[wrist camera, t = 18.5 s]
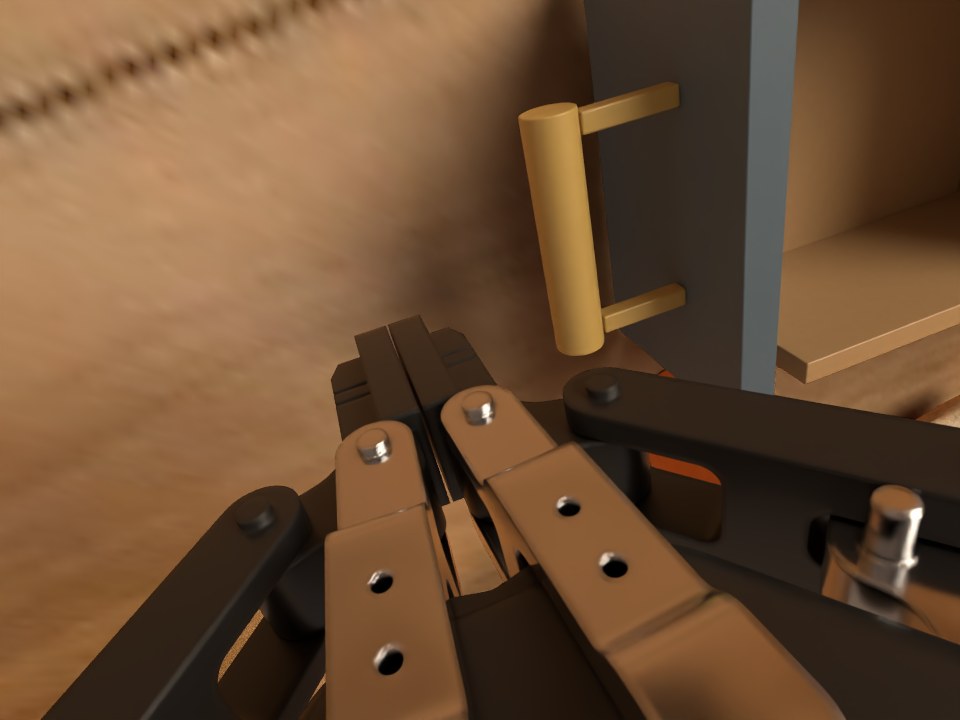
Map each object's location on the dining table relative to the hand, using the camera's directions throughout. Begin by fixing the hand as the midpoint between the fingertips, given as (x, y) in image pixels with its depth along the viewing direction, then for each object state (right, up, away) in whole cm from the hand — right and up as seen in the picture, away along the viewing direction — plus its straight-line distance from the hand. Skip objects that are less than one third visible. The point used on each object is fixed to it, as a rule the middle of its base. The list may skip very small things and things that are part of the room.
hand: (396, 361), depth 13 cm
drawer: (+12, +9, +9) cm, 17 cm away
